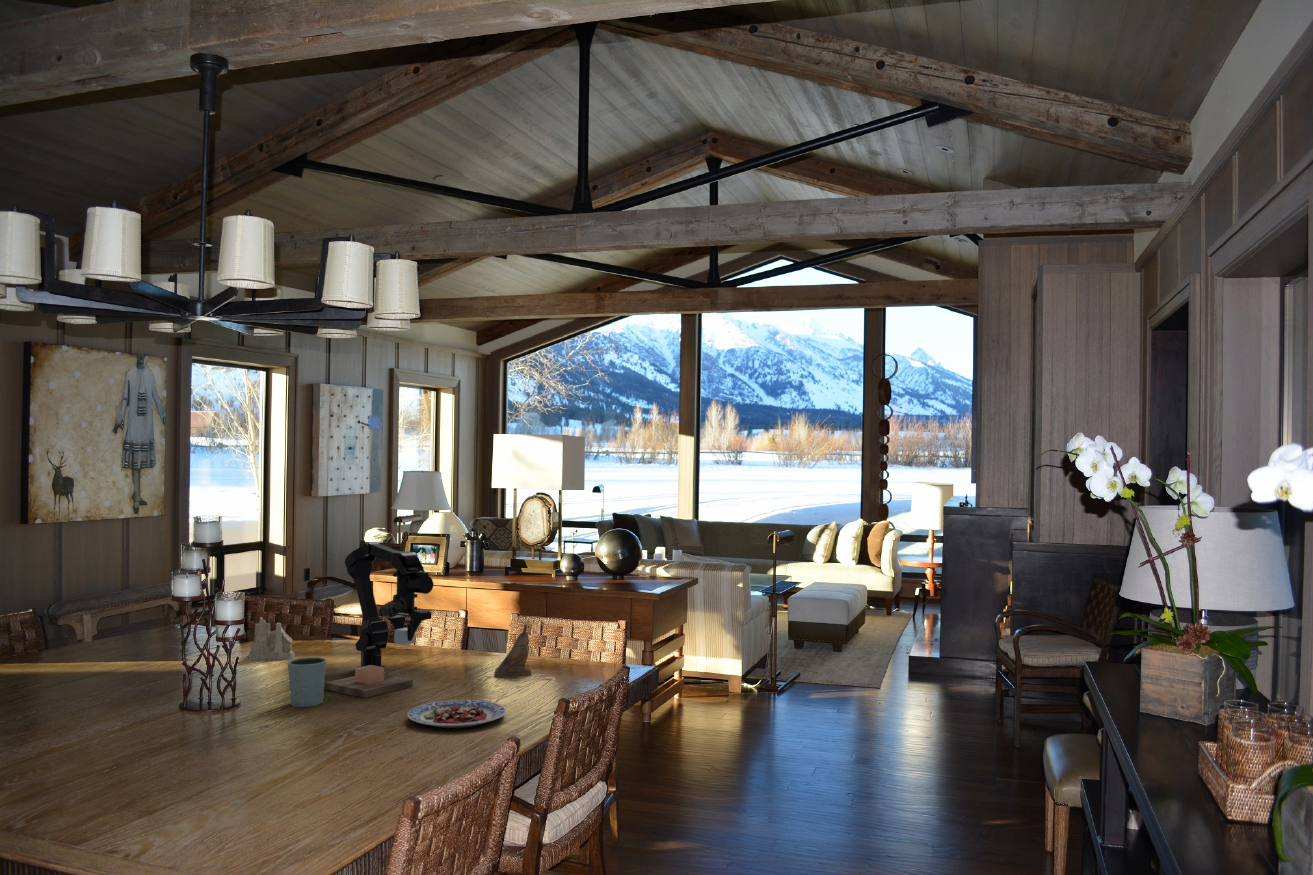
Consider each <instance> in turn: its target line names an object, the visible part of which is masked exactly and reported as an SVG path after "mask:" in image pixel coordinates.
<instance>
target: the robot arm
mask: <svg viewBox="0 0 1313 875" xmlns="http://www.w3.org/2000/svg"><path fill="white" fill-rule="evenodd" d="M377 559H379V560H382V561H385V562H387V563H389V564H390V566H391V567H392V568H393V569H394V570H396V571H395V572H394V573H393V574H392V577H394V578H395V577H396V594H393V596H392V600H390V601H388V602H386V603H384V604H383V605H381V606H380V609H379V610H378V607H377V603H376V600H375V594H374V590H373V585H372V581H371V573H372V571H373V563H374V562H375V561H376V560H377ZM344 565H345V568H346V571H347V574H348V575H349V576H350V577H351V578H352V580H353V581H354V583H355V584H354V585H355V587H356V594H357V597H358V601H359V606H360V607H359V608H360V612H361V614H362V620H363V623H362V626H361V628H360V637H359V639H358V640H357V641H356V642H355V645H354V646H355V650H356V651H358V652H359V651H360V653H361V654H360V665H358V666H356V668H359V667H363V666H368V665H374V666H379V667H384V668H385V665H382V649H386V648H387V645H388V642H389V641H388V640H389V639H390V638H389V637H390V635H389V634H390V630H389V628H388V622H387V620H389V622H390V623H391V624H392V626H393V628H394V630H395V629H400V628H405V624H406V625H407V627H406V628H407V629H408V641H411V640H412V638H413V636H414V634H415V635H416V632H417V630H418V628H419V626H420V625H421V623H422V622H423V621H425V620H431V619H432V611H431V610H429V609H423V608H422V609H418V606H415V598H418V594H423V595H426V594H430V593H431V592H432V590H433V588H434V585H435V584H434V581H433V579H432V577H431V576H430V575H429V573H430V572H428V571H425V569H424V566H423V564H422V563H421V559H420V558H419V556H418V553H416V552H415V551H406V550H404V551H401V550H397V549H394V548H391V547H389V546H386V545H384V544H381V543H379V542H377V541H371V542H368V541H367V542H365V543H363V544H362V545H361V546H360V547H358V548H357V549H354V550H353V551H351V552H350V553H349V554H348V555H347V556H346V557H345V560H344ZM380 617H384V618H385V617H386V619H387V620H382V618H380ZM407 617H408V619H406V618H407Z"/></svg>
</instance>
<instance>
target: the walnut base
mask: <svg viewBox="0 0 1313 875" xmlns="http://www.w3.org/2000/svg"><path fill="white" fill-rule="evenodd" d="M413 682H414V681H413V679H412V678H411V679H410V678H404V677H400V676H397V675H395V676H394V675H390V674H385V673H384V681H380V682H376V683H371V684H364V683H359V682H355V675H354V676H349V677H345V678H340V679H336V680H329V681H326V682H325V681H324V689H325V690H326V691H332V692H336V693H341V694H345V695H349V696H354V697H359V698H364V699H365V698H370V697H374V696H379V695H382V694H386V693H391V692H394V691H395V692H396V691H398V690H402V689H406V688H407V689H408V688H411V687H414V685H413Z"/></svg>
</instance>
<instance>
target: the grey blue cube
mask: <svg viewBox="0 0 1313 875" xmlns="http://www.w3.org/2000/svg"><path fill="white" fill-rule="evenodd" d="M393 640H394V642H393V643H394V644H395V645H401V646H405V645H412V644H415V642H416V641H415V640H416V633H415V634H414V636H413V638H412V640H411V641H408V629H407V627H404V628H400V629H394V638H393Z"/></svg>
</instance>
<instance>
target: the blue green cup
mask: <svg viewBox="0 0 1313 875" xmlns="http://www.w3.org/2000/svg"><path fill="white" fill-rule="evenodd" d="M287 668H288V669H287V670H288V677H289V678H288V679H289V691H290V693H289V694H290V695H289V696H290V698H289V699H290V705H291V706H292V707H296V708H310V707H315V706H320V705H322V704H323V702H324V695H325V694H324V689H325V676H326V671H327V670H326V669H327V659H326V658H324V657H319V656H317V657H316V656H315V657H313V656H310V657H300V658H299V657H298V658H293V659H290V660H288V662H287Z"/></svg>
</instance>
